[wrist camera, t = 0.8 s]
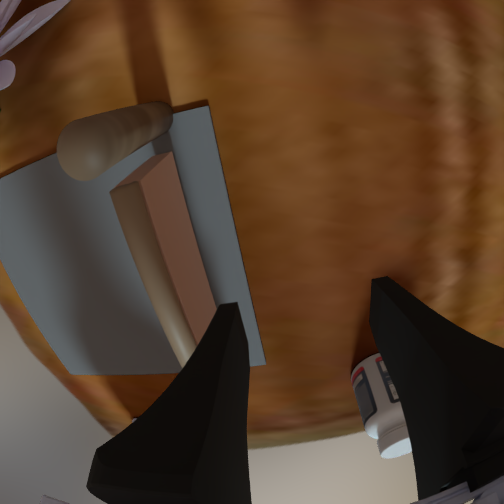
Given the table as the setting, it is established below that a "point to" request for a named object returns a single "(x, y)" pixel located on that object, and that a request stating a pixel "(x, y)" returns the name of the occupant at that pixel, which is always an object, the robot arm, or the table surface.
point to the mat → (116, 255)
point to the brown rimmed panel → (166, 251)
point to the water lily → (21, 31)
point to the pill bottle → (380, 407)
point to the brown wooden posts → (110, 138)
